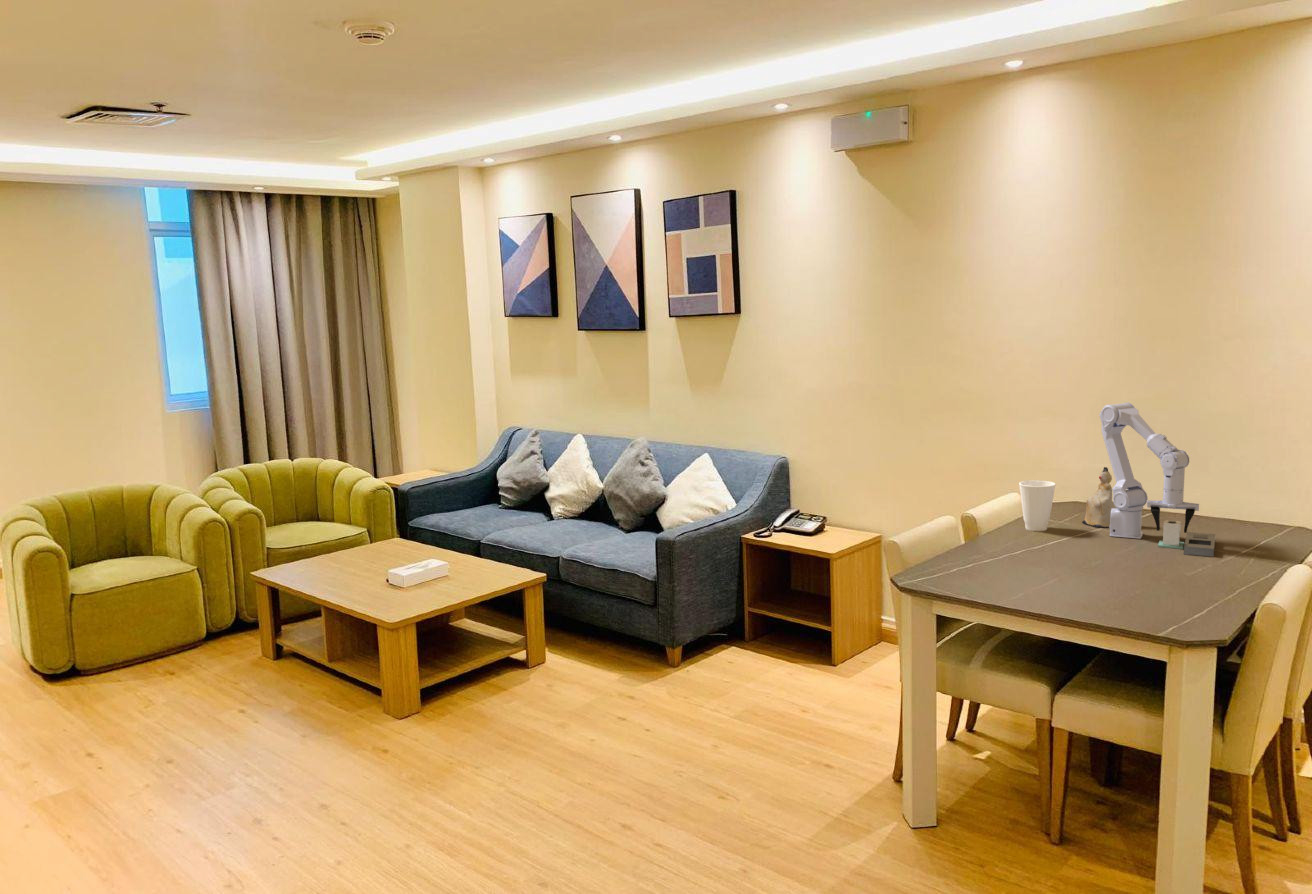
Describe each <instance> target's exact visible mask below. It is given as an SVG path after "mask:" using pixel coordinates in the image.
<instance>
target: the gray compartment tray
mask: <svg viewBox="0 0 1312 894" xmlns="http://www.w3.org/2000/svg"><path fill="white" fill-rule="evenodd" d="M1215 545H1216V533H1215V534H1214V533H1205V532H1191V531H1187V533H1186V536H1185V540H1184V547H1183V555H1188V556H1200V557H1210V558H1211V557H1212V558H1215V557H1214V556H1215Z"/></svg>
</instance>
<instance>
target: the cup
mask: <svg viewBox="0 0 1312 894" xmlns="http://www.w3.org/2000/svg"><path fill="white" fill-rule="evenodd" d="M1018 485H1019V493H1020V502H1021V509H1022V518H1023V521H1024V525H1025V529H1026V530H1027V531H1033V532H1044V531H1047V530H1048V526H1049V525H1048V524H1049V523H1050V518H1051V512H1052V506H1053V503H1054V502H1053V501H1054V494H1055V489H1056V486H1057V484H1056V483H1055V482H1053V481H1048V480H1037V479H1036V480H1035V479H1034V480H1031V479H1029V480H1022V481H1020V482H1018Z"/></svg>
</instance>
